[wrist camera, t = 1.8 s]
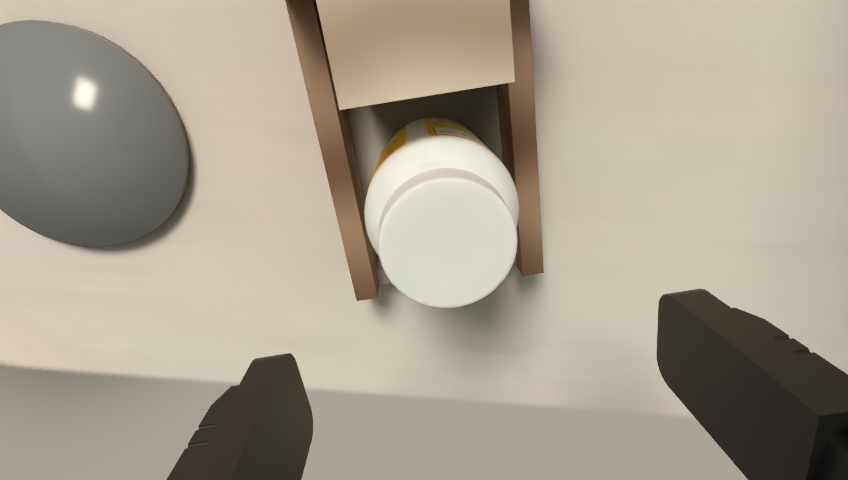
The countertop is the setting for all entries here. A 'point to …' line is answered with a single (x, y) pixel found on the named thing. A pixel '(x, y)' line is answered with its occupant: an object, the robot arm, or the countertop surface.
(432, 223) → the supplement bottle
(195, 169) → the countertop surface
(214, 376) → the countertop surface
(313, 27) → the rack
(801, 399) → the robot arm
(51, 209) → the coaster
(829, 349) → the countertop surface
